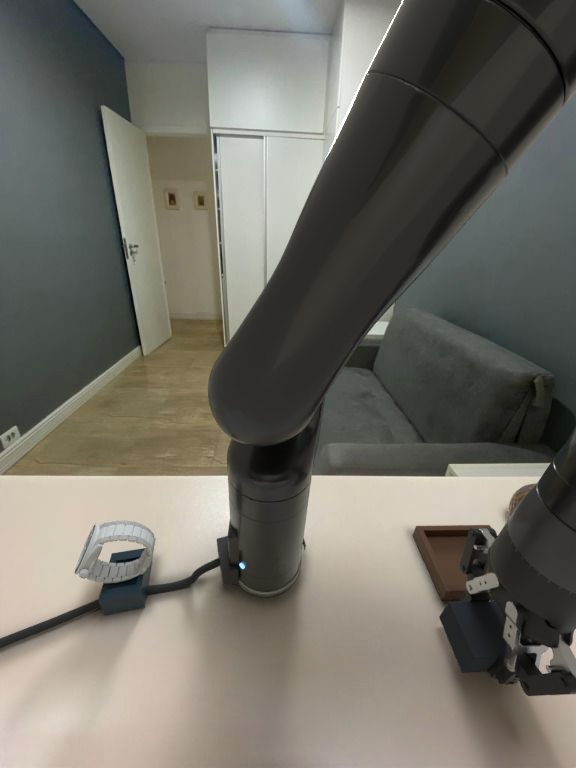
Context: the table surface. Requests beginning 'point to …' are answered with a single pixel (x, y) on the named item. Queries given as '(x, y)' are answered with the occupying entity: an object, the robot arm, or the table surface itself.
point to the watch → (118, 565)
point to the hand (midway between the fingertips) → (482, 640)
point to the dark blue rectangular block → (474, 633)
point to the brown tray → (445, 556)
